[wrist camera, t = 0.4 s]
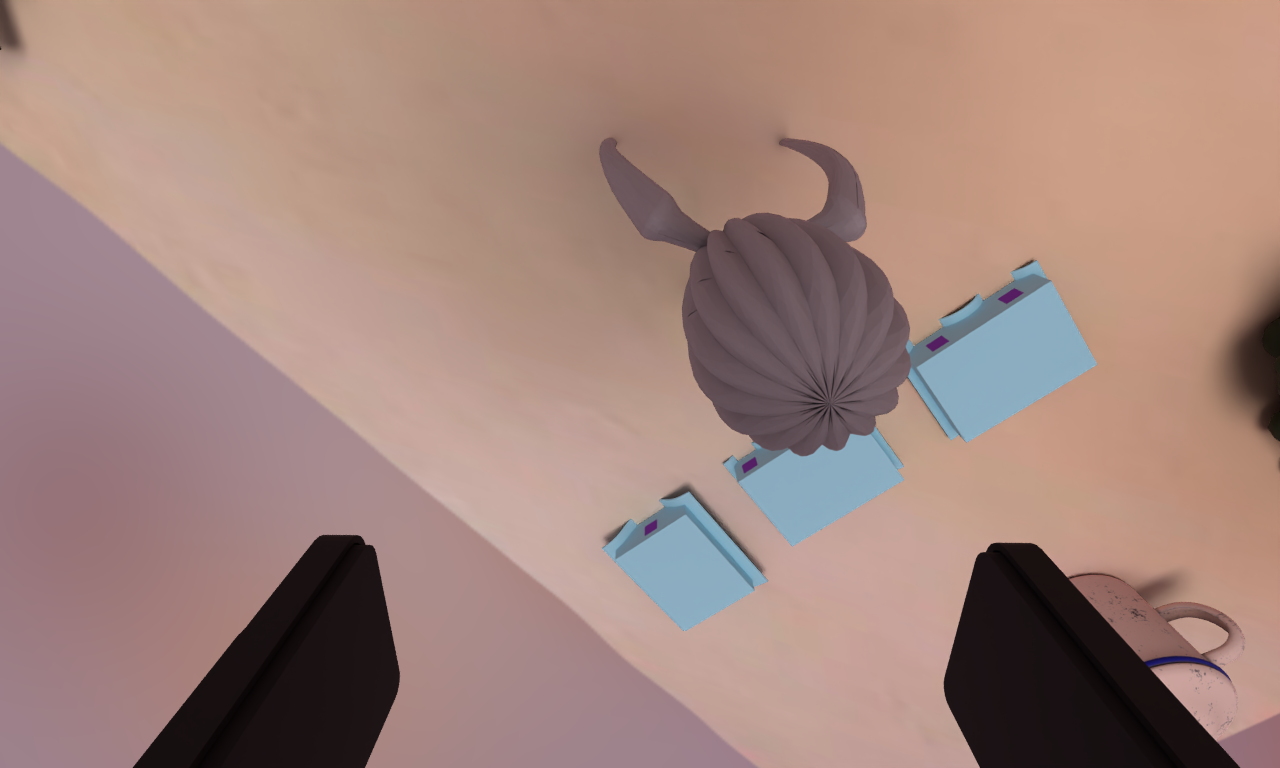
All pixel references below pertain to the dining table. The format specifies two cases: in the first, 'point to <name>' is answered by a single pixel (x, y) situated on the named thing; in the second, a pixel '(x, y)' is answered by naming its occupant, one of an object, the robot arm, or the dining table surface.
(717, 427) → the dining table surface
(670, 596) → the light blue block row
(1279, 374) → the toy figurine
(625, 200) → the juicer
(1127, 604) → the teacup with lid
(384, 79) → the dining table surface
